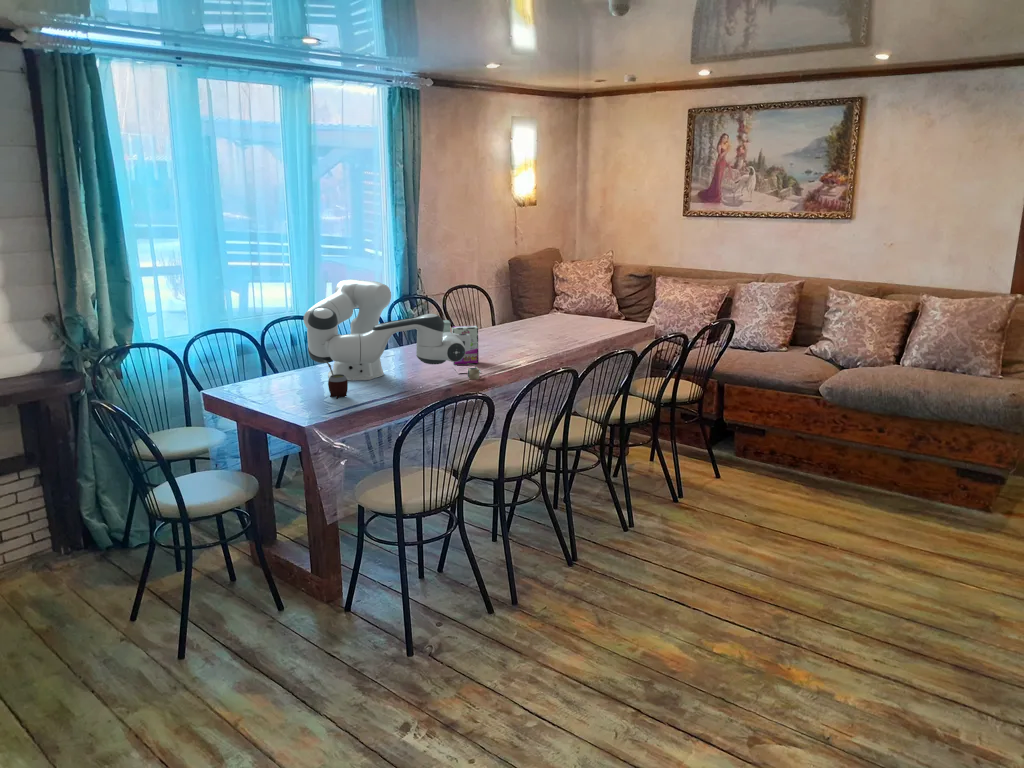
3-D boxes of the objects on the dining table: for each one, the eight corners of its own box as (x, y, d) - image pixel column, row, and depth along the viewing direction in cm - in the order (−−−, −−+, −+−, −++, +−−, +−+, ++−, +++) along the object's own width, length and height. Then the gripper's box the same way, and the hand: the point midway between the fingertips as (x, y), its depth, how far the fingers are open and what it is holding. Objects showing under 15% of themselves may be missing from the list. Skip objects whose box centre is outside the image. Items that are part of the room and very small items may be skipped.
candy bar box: (477, 361, 341) (477, 325, 336) (478, 364, 336) (478, 327, 332) (452, 362, 339) (451, 325, 334) (453, 365, 334) (453, 328, 330)
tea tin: (436, 359, 308) (436, 323, 304) (434, 356, 313) (433, 320, 309) (451, 359, 309) (450, 322, 305) (448, 356, 315) (448, 320, 311)
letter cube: (469, 379, 310) (469, 369, 309) (467, 377, 314) (467, 367, 313) (479, 379, 311) (479, 369, 310) (477, 376, 315) (477, 366, 314)
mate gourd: (349, 394, 288) (347, 355, 284) (346, 400, 280) (344, 360, 276) (329, 394, 287) (327, 355, 283) (325, 400, 280) (323, 360, 276)
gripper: (421, 353, 295) (416, 345, 308) (473, 350, 300) (466, 343, 313) (421, 336, 293) (416, 330, 306) (473, 334, 299) (466, 328, 312)
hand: (442, 336), depth 310 cm, fingers closed on tea tin, 5 cm apart
